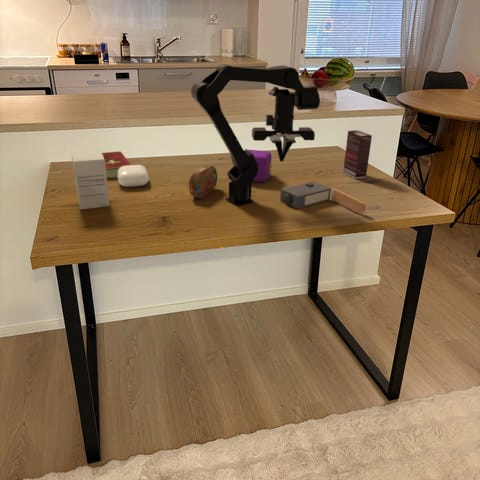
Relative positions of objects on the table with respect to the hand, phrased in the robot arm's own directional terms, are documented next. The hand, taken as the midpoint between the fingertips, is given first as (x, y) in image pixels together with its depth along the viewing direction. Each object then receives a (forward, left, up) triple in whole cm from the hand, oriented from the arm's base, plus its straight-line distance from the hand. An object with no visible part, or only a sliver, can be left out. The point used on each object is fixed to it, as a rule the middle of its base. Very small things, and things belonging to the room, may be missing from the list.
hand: (281, 161), depth 150 cm
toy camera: (+6, +20, -12) cm, 24 cm away
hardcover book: (-34, +57, -13) cm, 67 cm away
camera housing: (+5, -7, -12) cm, 15 cm away
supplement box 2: (+38, +2, -12) cm, 40 cm away
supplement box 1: (-52, +27, -12) cm, 60 cm away
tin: (-19, +16, -12) cm, 28 cm away
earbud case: (-34, +38, -12) cm, 52 cm away
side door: (+12, -18, -12) cm, 25 cm away
